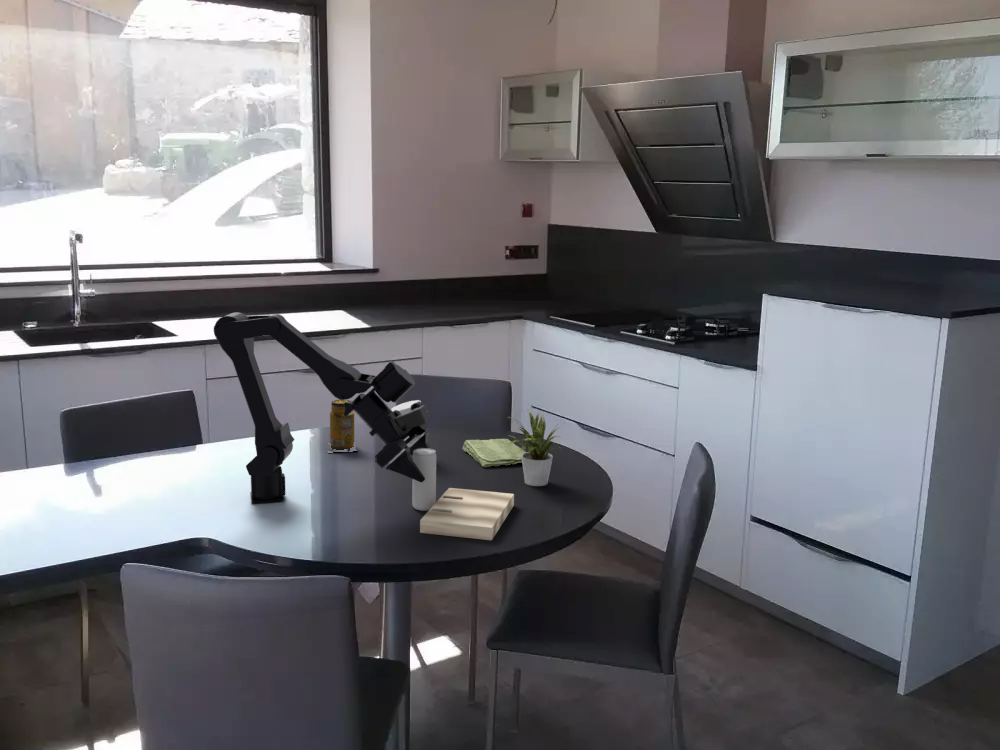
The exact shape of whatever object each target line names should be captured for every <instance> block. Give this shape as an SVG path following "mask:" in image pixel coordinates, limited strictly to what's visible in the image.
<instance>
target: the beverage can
mask: <svg viewBox="0 0 1000 750" xmlns="http://www.w3.org/2000/svg"><path fill="white" fill-rule="evenodd" d="M436 452H437V451H436V450H435V449H433V448H430V449H429V448H420V449H416V450H414V451H413V461H414V463H415V464H416V466H417V467H418V468H419V470H420V471H421V473H422V474H423V476H424V477H425V480H424V481H423V482H422V483H421V482H419V481H416V480H414V479H412V478H411V479H412V488H411V489H412V499H411V500H412V502H411V503H412V507H413V508H414V510H417V511H419V512H420V511H421V512H428V511H429V510H430V509H431V508H432V506H433V505H434V504H435V503H436V502H437V500H436V499H437V497H436V496H437V468H436V461H437V453H436Z"/></svg>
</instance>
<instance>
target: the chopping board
mask: <svg viewBox="0 0 1000 750" xmlns="http://www.w3.org/2000/svg"><path fill="white" fill-rule="evenodd" d="M514 505H515V494H514V493H508V492H507V493H506V492H497V491H487V490H475V489H465V488H454V487H448V489H447V490H446V491H444V493H443V494H442V495H441V496H440V497H439V498H438V499H437V500H436V503H435V504H434V505H433V506H432V508H431V509H430V510H428V511H426V513H425V514H424V515H423V516H422V517H421V519H420V520H419V533H420V534H429V535H437V536H438V535H440V536H448V537H454V538H455V537H458V538H465V539H466V538H467V539H475V540H485V541H493V539H494V538H495V536H496V535H497V533H498V531H499V530H500V528H501V527H502V525H503V523H504V522H505V520H506V519H507V517H508V515H509V513H511V510H512V509H513V507H514Z"/></svg>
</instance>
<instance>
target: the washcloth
mask: <svg viewBox="0 0 1000 750" xmlns="http://www.w3.org/2000/svg"><path fill="white" fill-rule="evenodd" d="M511 442H512V441H511V440H509V439H508V438H494V439H493V438H490V439H482V440H481V439H466V440H465V441H464V442H463V445H462V450H463V452H465V453H466V452H467V453H468V454H469V455H468V454H467V453H466V454H467V455H468V456H470V455H471V456H472V457H473V458H472V457H471V456H470V457H471V458H472V459H474V461H476V462H478V463H479V464H480V465H481V466H482V467H484V468H486V469H487V468H492V467H491V466H495V467H500V465H505V466H511V464H512V465H518V464H517V463H522V457H521V455H522V454H523V453H526V451H527V450H525V449H524V450H522V451H521V449H522V447H520V446H518V445H517V444H516V443H515V442H514V443H511ZM510 443H511V444H510ZM509 444H510V445H509Z"/></svg>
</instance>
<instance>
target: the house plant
mask: <svg viewBox="0 0 1000 750" xmlns="http://www.w3.org/2000/svg"><path fill="white" fill-rule="evenodd" d="M527 412H528V415H529V422H530V428H531V432H532V434H530V433H529V432H528V431H527V429H525V428H524V426H523V425H522V424H521V422H520V421H518V419H515V418H513V417H510V416H508V418H509V419H513V420H514V421H513V420H512V422H514V423H517V424H519V425H520V426H518V425H517V427H518V428H519V431H520V432H521V433H523V435H524V436H525V438H522V439H521V440H519V439H518V438H516V437H515V436H512V435H507V436H509V437H512V439H513V438H514V440H512V441H511V443H514V444H515V443H518V444H519V445H521V451H522V450H524V451H527V452H526V453H523V454H522V455H521V457H522V469H523V470H522V471H523V478H524V484H526V485H527V486H531V487H543V486H547V485H548V483H549V477H550V473H551V470H552V469H551V468H552V463H553V459H554V458H553V457H554V456H553V455H552V454H551V453H550V452H551V451H552V450H554V449H558V448H559V449H561V446H556V447H552V446H553V445H555V443H554V442H553V441H552V440H554V439H555V438H560V436H559V435H554V433H555V432H556V431H557V430H558V429H560V428H561V427H563V425H561V426H560V427H558V425H556V426H555V427H554V428H553V429H552V431H551V432H550V433H549V434H548V436H547V438H546V439H545V440H544V438H545V432H546V420H545V417H544V415H545V413H544V414H542V415H541V414H540V413H539V412H538V413H537V414H536V416H535V417H534V416H533V414H532V413H531V412H530V411H529V410H527ZM553 435H554V436H553ZM525 441H526V442H528V444H529V445H528V444H527V443H526V442H525ZM511 443H510V444H511ZM510 444H509V445H510ZM551 447H552V448H551Z"/></svg>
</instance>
